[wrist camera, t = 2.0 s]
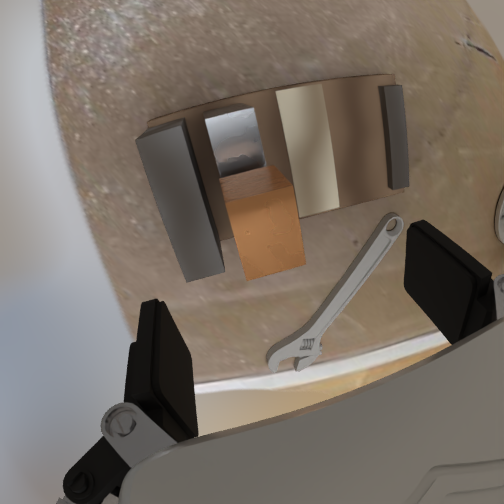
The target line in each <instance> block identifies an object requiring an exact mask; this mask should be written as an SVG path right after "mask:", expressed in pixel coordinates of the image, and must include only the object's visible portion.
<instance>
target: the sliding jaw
mask: <svg viewBox="0 0 504 504" xmlns="http://www.w3.org/2000/svg"><path fill="white" fill-rule="evenodd" d="M203 114H204V118H205V122H206V126H207V129H208V133H209V137H210V141H211V144H212V148H213V152H214V156H215V159H216V163H217V167H218V170H219V174H220V179H219V181H220V185H221V189H222V193H223V197H224V201H225V205H226V209H227V212H228V216H229V219H230V223H231V227H232V230H233V234H234V237H235V241H236V245H237V248H238V252H239V255H240V259H241V262H242V266H243V269H244V273H245V276H246V280H247V281H249V280H252V279H256V278H260V277H263V276H267V275H270V274H274V273H277V272H281V271H284V270H288V269H291V268H295V267H298V266H302V265H305V264H306V261H305V254H304V248H303V241H302V235H301V229H300V223H299V217H298V211H297V205H296V199H295V194H294V188H293V185H292V184H291V183H290V182H289V181H288V180H287V179H286V177H285V176H284V175H283V174H282V173H281V172H280V171H279V170H278V169H277V168H276V167H275V166H274V165H270V166H267V165H266V161H265V156H264V151H263V147H262V142H261V138H260V133H259V129H258V124H257V120H256V116H255V111H254V107H251V106H248V105H246V104H243V103H237V104H233V105H229V106H225V107H221V108H217V109H213V110H209V111H206V112H203Z"/></svg>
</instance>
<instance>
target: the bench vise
mask: <svg viewBox="0 0 504 504" xmlns="http://www.w3.org/2000/svg"><path fill="white" fill-rule="evenodd" d="M237 103H243V104H246V105H248V106H251V107H254V111H255V116H256V120H257V124H258V129H259V133H260V138H261V142H262V147H263V151H264V156H265V161H266V165H267V166H270V165H274V166H275V167H276V168H277V169H278V170H279V171H280V172H281V173H282V174H283V175H284V176H285V177H286V179H287V180H288V181H289V182H290V183H291V184H292V185H293V188H294V194H295V199H296V205H297V211H298V217H299V219H302V218H306V217H310V216H314V215H317V214H321V213H325V212H329V211H333V210H336V209H340V208H344V207H348V206H352V205H356V204H360V203H363V202H367V201H371V200H375V199H379V198H383V197H387V196H391V195H395V194H399V193H403V192H404V188H405V187H409V162H408V143H407V129H406V118H405V108H404V99H403V91H402V85H396V82H395V75H394V74H376V75H363V76H353V77H343V78H334V79H326V80H319V81H312V82H305V83H299V84H293V85H287V86H281V87H276V88H271V89H266V90H261V91H256V92H251V93H246V94H242V95H238V96H233V97H229V98H225V99H221V100H217V101H213V102H209V103H205V104H202V105H198V106H195V107H191V108H188V109H184V110H181V111H177V112H174V113H171V114H168V115H164V116H161V117H158V118H155V119H152V120H150V121H148V122H147V124H148V129H147V130H146V131H145V132H144V133H143V134H142V135H141V136H139V137H138V138H137V139H136V140H135V141H136V144H137V147H138V150H139V154H140V157H141V160H142V163H143V166H144V169H145V172H146V175H147V178H148V180H149V183H150V186H151V189H152V192H153V195H154V198H155V200H156V203H157V206H158V209H159V212H160V214H161V217H162V220H163V223H164V225H165V228H166V231H167V233H168V236H169V239H170V241H171V244H172V246H173V249H174V252H175V254H176V257H177V259H178V262H179V264H180V267H181V269H182V272H183V274H184V277H185V279H186V282H191V281H194V280H198V279H202V278H205V277H209V276H213V275H216V274H220V273H223V272H225V267H224V262H223V256H222V250H221V244H220V241H222V240H225V239H229V238H232V237H234V234H233V230H232V227H231V223H230V219H229V216H228V212H227V209H226V205H225V201H224V197H223V193H222V189H221V185H220V181H219V179H220V174H219V170H218V167H217V163H216V159H215V156H214V152H213V148H212V144H211V141H210V137H209V133H208V129H207V126H206V122H205V118H204V114H203V112H206V111H209V110H213V109H217V108H221V107H225V106H229V105H233V104H237Z"/></svg>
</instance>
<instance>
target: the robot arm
mask: <svg viewBox="0 0 504 504" xmlns="http://www.w3.org/2000/svg"><path fill="white" fill-rule="evenodd" d="M495 231H496V235H497V237H498V239H499V240H500V241H501V242H502V243H503V244H504V189H503V191H502V193H501V196H500V199H499V202H498V205H497V209H496V215H495ZM491 276H492V273H491V272H490V271H489V270H488V269H487V268H486V267H484V266H483V265H482V264H481V263H480V262H478V261H477V260H476V259H475V258H474V257H472V256H471V255H470V254H469V253H467V252H466V251H465V250H464V249H462V248H461V247H460V246H459V245H457V244H456V243H455V242H453V241H452V240H451V239H450V238H448V237H447V236H446V235H444V234H443V233H442V232H440V231H439V230H438V229H436V228H435V227H434V226H432V225H431V224H430V223H428V222H427V221H425V220H420V221H417V222H414V223H412V224H410V227H409V228H408V229H407V240H406V259H405V274H404V287H405V290H406V291H407V293H408V294H409V295H410V296H411V297H412V298H413V300H414V301H415V302H416V303H417V304H418V305H419V306H420V308H421V309H422V310H423V311H424V312H425V313H426V315H427V316H428V317H429V318H430V319H431V320H432V322H433V323H434V324H435V325H436V326H437V328H438V329H439V330H440V331H441V332H442V334H443V335H444V336H445V337H446V339H447V340H448V341H449V342H450V343H451V344H452V345H451V346H449V347H447V348H445V349H443V350H441V351H440V352H438V353H436V354H434V355H432V356H430V357H428V358H426V359H423V360H421V361H419V362H417V363H415V364H413V365H411V366H409V367H407V368H404V369H402V370H400V371H398V372H396V373H393V374H391V375H389V376H387V377H384V378H382V379H380V380H377V381H375V382H372V383H370V384H367V385H365V386H363V387H360V388H357V389H355V390H352V391H350V392H347V393H344V394H342V395H339V396H336V397H334V398H331V399H328V400H325V401H322V402H320V403H317V404H314V405H311V406H308V407H305V408H302V409H298V410H296V411H292V412H289V413H286V414H282V415H279V416H276V417H272V418H268V419H265V420H261V421H258V422H255V423H251V424H247V425H243V426H239V427H236V428H232V429H227V430H223V431H219V432H215V433H211V434H208V435H204V436H200V437H198V424H197V414H196V404H195V392H194V381H193V368H192V358H191V354H190V351H189V349H188V347H187V346H186V344H185V342H184V340H183V338H182V336H181V334H180V332H179V330H178V328H177V326H176V324H175V322H174V320H173V318H172V316H171V314H170V312H169V310H168V308H167V306H166V304H165V302H164V301H161V302H159V300H158V299H153V300H149V301H146V302H142V304H141V309H140V316H139V324H138V332H137V340H136V342H133V343H131V345H130V349H129V357H128V365H127V375H126V383H125V394H124V403H119V404H117V405H114V406H113V407H111V408H110V409H109V410H108V411H107V412H106V413H105V415H104V416H103V418H102V421H101V432H102V434H103V435H104V436H103V437H102V438H101V439H100V440H99V441H98V442H97V443H96V444H95V445H94V446H93V447H92V448H91V449H90V450H89V451H88V452H87V453H86V454H85V455H84V456H83V457H82V458H81V459H80V460H79V461H78V462H77V463H76V464H75V465H74V466H73V467H72V468H71V469H70V470H69V471H68V472H67V474H66V475H65V477H64V480H63V489H64V493H65V496H64V498H63V499H61V498H59V499H58V501H57V503H56V504H504V274H502V275H499V276H497V277H496V278H495V280H494V281H493V280H492V279H491ZM194 437H196V438H194Z"/></svg>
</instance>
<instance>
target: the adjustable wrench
mask: <svg viewBox="0 0 504 504" xmlns="http://www.w3.org/2000/svg"><path fill="white" fill-rule="evenodd" d="M394 218H395V219H396V221H397V223H396V226H395V227H394V229H393V230H391V231H387V230H386V227H387V224H388V223H389V222H390V221H391V220H392V219H394ZM403 226H404V222H403V220H402V219H401V218H400V217H399V216H398V215H396V214H394V213H389V214H387V215H386V216H384V218H383V219H382V220H381V222H380V223H379V225H378V226H377V228H376V229H375V231H374V232H373V234H372V235H371V237H370V238H369V240H368V241H367V242H366V244H365V245H364V247H363V248H362V250H361V251H360V253H359V254H358V255H357V257H356V258H355V260H354V261H353V263H352V264H351V265H350V267H349V268H348V270H347V271H346V272H345V274H344V275H343V277H342V278H341V279H340V281H339V282H338V283H337V285H336V286H335V287H334V289H333V290H332V292H331V293H330V294H329V296H328V297H327V298H326V300H325V301H324V302H323V304H322V305H321V306H320V307H319V309H318V310H317V311H316V313H315V314H314V315H313V317H312V318H311V319H310V320H309V321H308V323H307V324H305V325H304V326H303V327H302V328H300V329H299V330H298V331H296V332H295V333H293V334H292V335H290V336H288V337H287V338H285V339H283V340H281V341H280V342H278V343H276V344H275V345H273V346H272V347H271V348H270V349H269V351H268V353H267V362H268V366H269V369H270V370H271V371H272V372H273V373H276V372H277V368H278V365H279V361H282V360H284V359H286V358H289V357H296V359H295V362H294V368H295V371H296V372H297V371H301V370H303V369H304V368H306V367H307V366H309V365H310V364H311V363H312V362H313V361H314V360H315V359H316V358H317V356H318V355H322V352H321V350H322V344H320V339H321V337H322V335H323V333H324V332H325V330H326V329H327V328H328V327H329V326H330V324H331V323H332V322H333V321H334V320H335V318H336V317H337V316H338V315H339V314H340V312H341V311H342V310H343V309H344V307H345V306H346V305H347V304H348V302H349V301H350V300H351V299H352V297H353V296H354V295H355V294H356V292H357V291H358V290H359V289H360V287H361V286H362V285H363V283H364V282H365V281H366V279H367V278H368V277H369V276H370V274H371V273H372V272H373V270H374V269H375V268H376V266H377V265H378V264H379V262H380V261H381V260H382V258H383V257H384V255H385V254H386V253H387V251H388V250H389V249H390V247H391V246H392V244H393V243H394V242H395V240H396V239H397V237H398V236H399V235H400V233H401V232H402V230H403Z"/></svg>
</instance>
